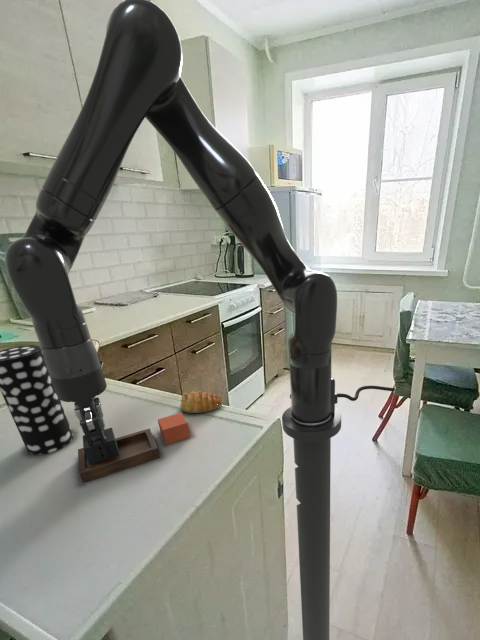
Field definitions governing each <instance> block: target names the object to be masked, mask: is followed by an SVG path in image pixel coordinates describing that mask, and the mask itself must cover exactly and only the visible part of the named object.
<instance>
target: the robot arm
mask: <svg viewBox="0 0 480 640" xmlns="http://www.w3.org/2000/svg"><path fill="white" fill-rule="evenodd" d="M105 30H106V31H105V37H104V41H103V45H102V49H101V53H100V56H99V59H98V64H97V67H96V71H95V74H94V76H93V79H92V82H91V84H90V87H89V90H88V93H87V94H86V97H85V99H84V102H83V105H82V107H81V109H80V112H79V113H78V115H77V118H76V119H75V122H74V123H73V126H72V128H71V129H70V131H69V133H68V136H67V138H66V139H65V141H64V143H63V144H62V147H61V148H60V150H59V152H58V154H57V156H56V158H55V160H54V162H53V164H52V166H51V168H50V170H49V172H48V174H47V176H46V178H45V180H44V182H43V184H42V186H41V188H40V190H39V192H38V195H37V197H36V201H35V213H34V215H33V216H32V219H31V221H30V223H29V225H28V227H27V229H26V230H25V233H24V235H23V236H22V238H18V239H16V240H15V241H13V242H12V243H11V244H10V245H8V247H7V249H6V251H5V256H4V264H5V268H6V271H7V275H8V278H9V280H10V282H11V284H12V287H13V289H14V291H15V292H16V294H17V297H18V299H19V300H20V302H21V304H22V306H23V308H25V310H26V312H27V314H28V315H29V317H30V319H31V323H32V326H33V330H34V332H35V335H36V338H37V341H38V343H39V346H40V347H41V350H42V353H43V358H44V362H45V365H46V367H47V370H48V373H49V376H50V378H51V381H52V384H53V386H54V389H55V392H56V394H57V397H58V399H60V401H61V402H65V403H73V404H74V409H73V410H74V414H75V418H76V419H78V422H79V425H80V427H81V430H82V433H83V434H84V435H85V436H86V439H87V441H88V446H90V448H93V450H94V453H95V456H96V459H97V461H98V462H102V461H105V460H108V459H110V457H111V456H110V452H109V449H108V446H107V443H106V437H105V435H104V432H103V430H104V429H106V428H105V427H106V424H105V421H104V414H103V408H102V403H101V399H100V395H101V394H103V393H104V392H105V390H106V389H107V387H108V385H107V381H106V378H105V374H104V371H103V368H102V364H101V361H100V358H99V355H98V351H97V348H96V346H95V344H94V342H93V339H92V337H91V333H90V330H89V328H88V324H87V321H86V318H85V314H84V313H83V310H82V308H81V306H79V305H78V303H77V301H76V298H75V295H74V292H73V291H74V290H73V288H72V284H71V281H70V277H69V274H70V272H71V271H72V268H73V266H74V264H75V261H76V259H77V256H78V255H79V253H80V250H81V247H82V245H83V242H84V240H85V238H86V236H87V235H88V234H89V232H90V230H91V229H92V227H93V225H94V224H95V222H96V220H97V219H98V216H99V214H100V212H101V211H102V209H103V207H104V205H105V203H106V201H107V199H108V197H109V195H110V193H111V191H112V188H113V186H114V183H115V181H116V180H117V176H118V175H119V172H120V169H121V166H122V164H123V161H124V159H125V157H126V155H127V152H128V149H129V147H130V145H131V143H132V141H133V140H134V137H135V134H137V132H138V130H139V128H140V126H141V125H142V123H143V122H144V120H145V119H146V120H147V121H148V122H149V123H150V124H151V126H152V127H153V128H154V129H155V131H156V132H158V134H159V135H160V136H161V137H162V138H163V139H164V140H165V142H166V143H167V144H168V145H169V147H170V148H171V149H172V151H173V152H174V153H175V155H176V156H177V158H178V159H179V160H180V162H181V164H182V165H183V167H184V168H185V170H186V171H187V173H188V175H189V176H190V178H191V179H192V180H193V182H194V183H195V184H196V186H197V187H198V189H199V190H200V192H201V193H202V194H203V196H204V197H205V199H206V200H207V202H208V203H209V205H210V206H211V207H212V209H213V210H214V211H215V213H216V214H217V215H218V216H219V218H220V220H222V222H223V223H224V225H225V226H226V227H227V229H228V230H229V231H230V232H231V233H232V235H233V236H234V237H235V238H236V240H237V241H238V242H239V243H240V244H241V245H242V247H243V248H244V249H245V250H246V252H248V254H249V255H250V256H251V258H252V259H253V260H255V262H256V263H257V265H259V267H260V268H261V270H262V271H263V272H264V273H265V276H266V277H267V279H268V280H269V282H270V283H271V285H272V286H273V288H274V290H275V291H276V294H277V295H278V297H279V299H280V301H281V302H282V304H283V305H284V306H285V308H287V309H288V310H289V311H290V312H292V313H293V314H294V332H292V333H290V334H289V336H288V341H287V342H288V345H287V346H288V363H289V383H290V385H289V386H290V394H289V399H290V405H291V406H290V407H292V410H291V411H292V413H291V416H292V420H293V421H294V422H295V423H296V424H298V425H301V426H305V427H317V426H322V425H324V424H326V423H328V422H329V421H330V420H331V418H332V417H334V416H335V408H336V406H335V405H337V404H338V398H344V399H348V400H349V401H351V402H355V401H357V400H358V398H359V395H360V393H361V392H362V391H364V390H379V391H385V392H395V391H396V388H395V387H388V386H379V385H363V386H361V387H358V388H357V390H356V391H355V394H354V396H351V395H350V394H347V393H341V392H339V393H337V392H336V380H335V379H334V378H333V377H332V345H333V340H334V337H335V335H336V331H337V314H338V313H337V312H338V291H337V286H336V284H335V281H334V280H333V278H332V277H331V276H329V275H328V274H326V273H324V272H321V271H318V270H313V269H310V268H309V267H308V266H307V265H306V263H304V262H303V261H302V259H301V258H300V257H299V255H298V254H297V252H296V251H295V250H294V248H293V247H292V245H291V243H290V242H289V240H288V238H287V236H286V233H285V229H284V226H283V223H282V218H281V217H280V212H279V210H278V207H277V204H276V202H275V201H274V198H273V196H272V194H271V193H270V190H268V188H267V186H266V184H264V182H263V180H262V179H261V177H260V176H259V174H258V172H257V171H256V170H255V168H254V167H253V165H252V164H251V163H250V161H249V160H248V159H247V158H246V157H245V156H244V155H243V154H242V152H241V151H239V149H238V148H237V147H236V146H235V145H234V144H233V143H232V142H231V141H229V140H228V139H227V138H226V136H224V135H223V134H222V133H221V132H220V131H218V129H217V128H216V126H214V125H213V124H212V123H211V122H210V121H209V119H208V118H207V117H206V115H205V114H204V113H203V111H202V110H201V108H200V107H199V105H198V103H197V101H196V100H195V98H194V97H193V95H192V93H191V92H190V90H189V89H188V87H187V85H186V83H185V82H184V80H183V78H182V76H181V74H182V68H183V48H182V43H181V38H180V35H179V32H178V31H177V28H176V26H175V25H174V23H173V21H172V19H171V17H170V16H169V15H168V14H167V13H166V11H165V10H163V9H162V8H161V7H160V6H159V5H158V4H156V3H155V2H153V1H151V0H122V1H121V2H119V4H117V5H116V6H115V7H114V9H113V10H112V11H111V13H110V16H109V18H108V21H107V24H106V29H105ZM96 436H99V437H96ZM92 437H96V438H92Z"/></svg>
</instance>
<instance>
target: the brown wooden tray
mask: <svg viewBox="0 0 480 640" xmlns="http://www.w3.org/2000/svg"><path fill="white" fill-rule="evenodd" d="M115 439H116V442H117V447H118V451H119V456H117V457H113V458H110V459H108V460H105V461H102V462H98V463H94V464H91V465H89V463H88V460H87V457H86V455H85V452H84V449H83V447H81V448H78V449H77V459H78V460H77V461H78V474H79V478H80V480H81V482H82V484H83V483H87V482H90V481H94V480H96V479H99V478H102V477H105V476H108V475H111V474H114V473H117V472H120V471H124V470H126V469H129V468H132V467H136V466H138V465H141V464H145V463H147V462H151V461H153V460H156V459H160V458H161V456H160V452H159V448H158V446H157V445H158V444H157V443H156V440H155V437H154V435H153V433H152V431H151V428H150V427H149V428H145V429H142V430H139V431H135V432H132V433H128V434H125V435H122V436H119V437H115Z"/></svg>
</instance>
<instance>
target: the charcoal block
mask: <svg viewBox="0 0 480 640" xmlns="http://www.w3.org/2000/svg"><path fill="white" fill-rule="evenodd" d="M103 432H104V435H105V437H106V443H107V446H108V449H109V452H110V456H111V457H110V458H113V457H117V456H119V451H118V447H117V442H116V439H115V438H116V435H115V433H114V430H113V427H109V428H104V430H103ZM96 437H99V436H96ZM96 437H92V438H96ZM82 448H83V449H84V452H85V455H86V457H87V460H88V463H89V465H91V464H94V463H98V461H97V459H96V456H95V453H94V450H93V448H90V446H88V441H87V439H86V436H85V434H84V435H82Z"/></svg>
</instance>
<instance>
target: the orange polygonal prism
mask: <svg viewBox="0 0 480 640" xmlns="http://www.w3.org/2000/svg"><path fill="white" fill-rule="evenodd" d="M157 423H158V427H159V431H160V435H161V437H162V439H163V441H164V444H165V445H170V444H173V443H176V442H179V441H183V440H185V439H189V438H191V433H190V428H189V423H188V421H187V419H186V418H185V416H184V414H183V413H182V412H179V413H178V412H177V413H175V414H171V415H167V416H164V417H161V418H158V419H157Z"/></svg>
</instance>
